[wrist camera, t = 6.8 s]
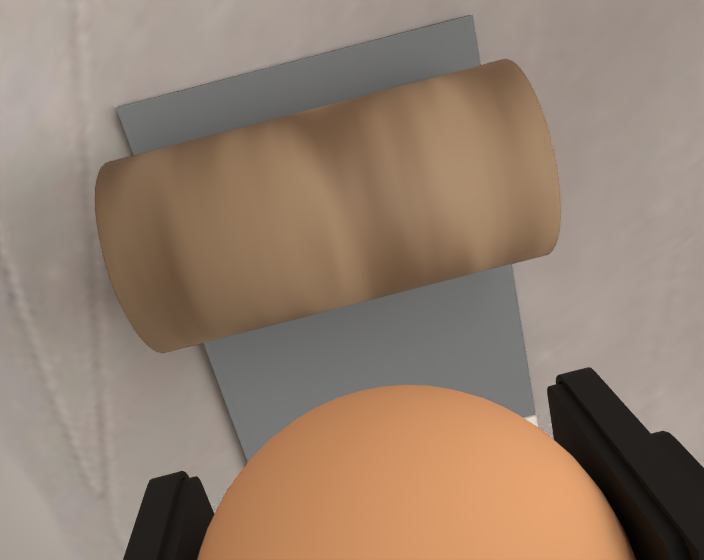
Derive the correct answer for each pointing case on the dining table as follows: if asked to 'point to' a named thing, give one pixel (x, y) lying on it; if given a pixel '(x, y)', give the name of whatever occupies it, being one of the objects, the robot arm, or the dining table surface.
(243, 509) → the ball
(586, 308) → the dining table surface
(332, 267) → the brown cylinder
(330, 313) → the throwing mat
